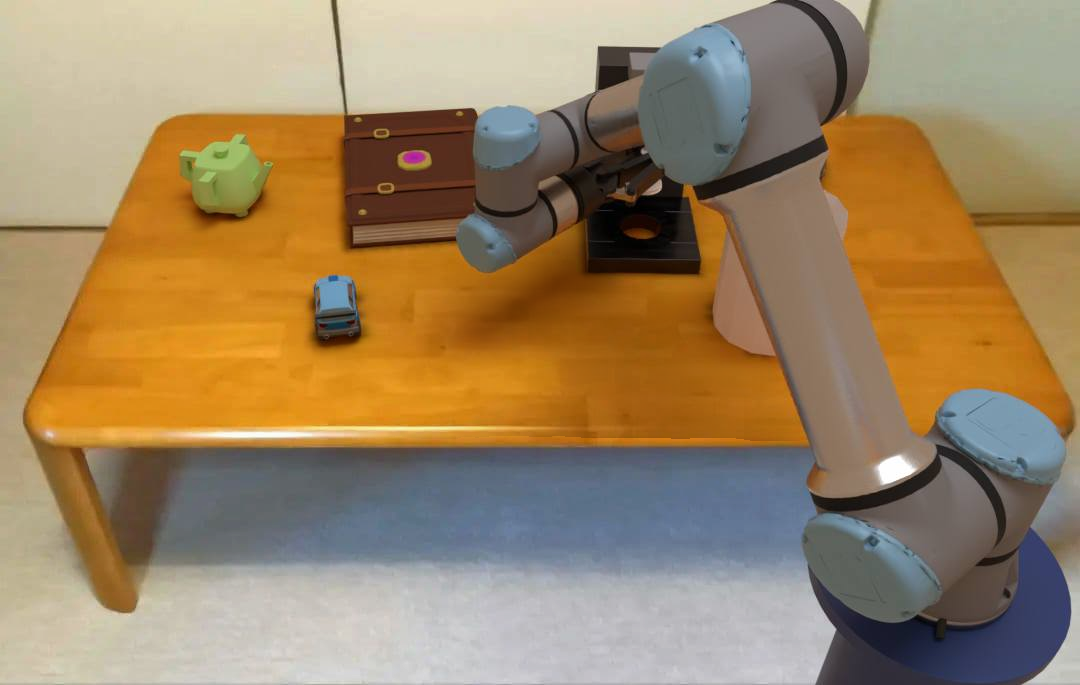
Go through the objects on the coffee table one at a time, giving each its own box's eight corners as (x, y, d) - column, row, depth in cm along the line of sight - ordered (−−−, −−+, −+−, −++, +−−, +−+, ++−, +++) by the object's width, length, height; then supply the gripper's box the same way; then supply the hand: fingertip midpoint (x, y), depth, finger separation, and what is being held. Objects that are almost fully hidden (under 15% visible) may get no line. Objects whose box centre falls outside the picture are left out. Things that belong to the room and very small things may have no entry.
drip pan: (698, 274, 146) (701, 260, 144) (587, 272, 146) (588, 258, 144) (687, 210, 158) (688, 196, 156) (583, 208, 157) (584, 195, 156)
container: (693, 302, 141) (710, 192, 129) (780, 277, 146) (804, 169, 134) (750, 367, 131) (774, 255, 119) (841, 338, 136) (873, 228, 124)
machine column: (684, 229, 154) (706, 70, 137) (591, 227, 154) (601, 68, 136) (676, 189, 162) (696, 34, 145) (589, 187, 162) (598, 32, 145)
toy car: (356, 288, 142) (352, 255, 138) (363, 345, 133) (359, 311, 129) (314, 293, 141) (308, 260, 137) (317, 350, 132) (311, 317, 128)
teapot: (210, 233, 151) (197, 176, 144) (181, 197, 158) (167, 141, 151) (284, 208, 156) (274, 152, 150) (253, 174, 163) (242, 119, 156)
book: (348, 248, 149) (345, 220, 145) (345, 138, 172) (342, 111, 168) (503, 237, 152) (502, 209, 148) (479, 129, 175) (478, 103, 171)
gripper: (517, 200, 137) (630, 138, 150) (602, 248, 130) (713, 178, 143) (518, 152, 132) (634, 91, 145) (606, 199, 125) (720, 131, 138)
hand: (673, 134), depth 144 cm, fingers closed on chess piece, 2 cm apart
